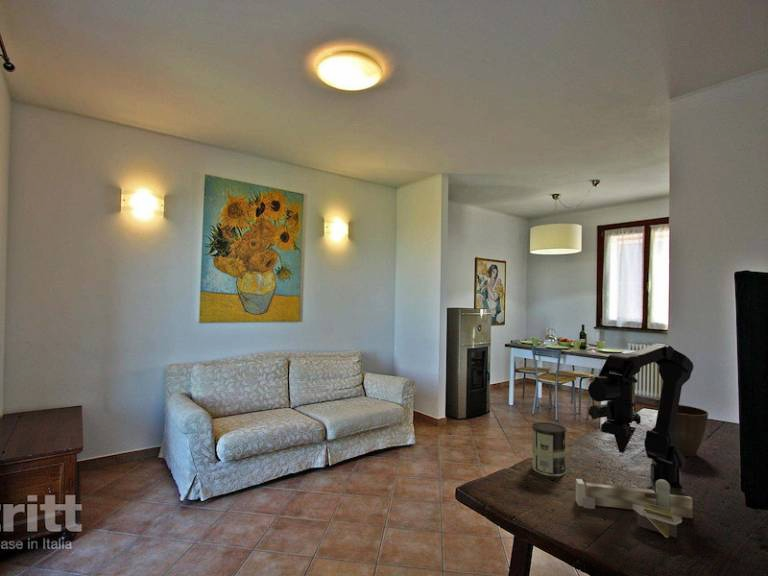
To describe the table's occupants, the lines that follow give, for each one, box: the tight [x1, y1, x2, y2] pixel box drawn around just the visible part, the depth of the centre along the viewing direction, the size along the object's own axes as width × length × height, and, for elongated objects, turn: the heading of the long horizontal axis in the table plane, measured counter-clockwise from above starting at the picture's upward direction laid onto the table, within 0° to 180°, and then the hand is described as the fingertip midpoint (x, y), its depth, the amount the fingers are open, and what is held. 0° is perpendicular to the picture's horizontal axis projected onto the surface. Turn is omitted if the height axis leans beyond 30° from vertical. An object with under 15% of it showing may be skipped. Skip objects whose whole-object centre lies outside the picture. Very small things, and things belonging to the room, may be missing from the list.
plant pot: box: [657, 404, 709, 457], centre depth 148 cm, size 15×15×16 cm
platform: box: [633, 503, 683, 539], centre depth 96 cm, size 12×18×7 cm, turn 52°
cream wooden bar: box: [585, 482, 656, 511], centre depth 108 cm, size 17×2×5 cm, turn 77°
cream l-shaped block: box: [575, 478, 596, 510], centre depth 109 cm, size 4×4×6 cm
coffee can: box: [531, 421, 567, 477], centre depth 132 cm, size 10×10×14 cm
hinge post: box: [655, 479, 671, 513], centre depth 105 cm, size 3×3×9 cm
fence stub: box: [670, 493, 694, 519], centre depth 104 cm, size 5×1×5 cm, turn 76°
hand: (621, 452), depth 116 cm, fingers closed
